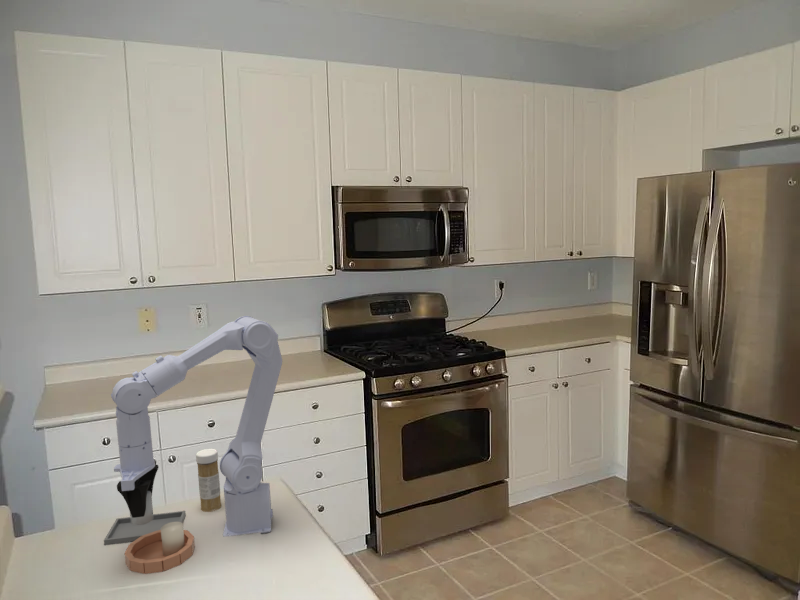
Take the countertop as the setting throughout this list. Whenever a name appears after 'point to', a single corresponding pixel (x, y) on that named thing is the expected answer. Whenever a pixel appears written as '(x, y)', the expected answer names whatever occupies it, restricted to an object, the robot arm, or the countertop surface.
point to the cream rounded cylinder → (172, 538)
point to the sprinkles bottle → (208, 479)
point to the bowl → (156, 553)
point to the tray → (139, 527)
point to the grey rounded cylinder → (148, 513)
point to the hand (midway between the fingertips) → (141, 510)
